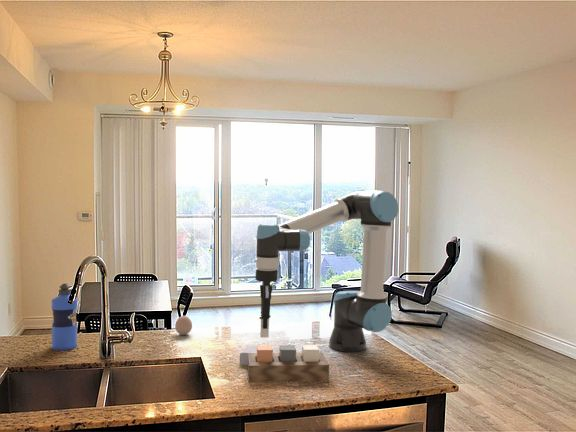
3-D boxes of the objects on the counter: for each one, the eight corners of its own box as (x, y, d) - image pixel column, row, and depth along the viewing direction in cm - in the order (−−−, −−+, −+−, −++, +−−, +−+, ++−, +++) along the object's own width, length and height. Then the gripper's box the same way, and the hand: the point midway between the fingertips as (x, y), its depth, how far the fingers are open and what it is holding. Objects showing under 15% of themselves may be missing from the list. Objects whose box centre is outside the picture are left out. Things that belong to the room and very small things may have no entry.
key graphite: (293, 361, 182) (294, 345, 182) (295, 367, 177) (296, 349, 177) (279, 362, 182) (279, 345, 182) (280, 367, 177) (281, 349, 176)
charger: (272, 354, 202) (264, 367, 187) (249, 352, 203) (239, 365, 189) (272, 342, 202) (264, 354, 187) (249, 340, 203) (239, 352, 188)
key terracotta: (271, 362, 182) (271, 345, 181) (272, 367, 176) (272, 349, 176) (256, 362, 181) (256, 345, 181) (257, 367, 176) (257, 350, 176)
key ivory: (316, 361, 183) (316, 345, 183) (318, 366, 178) (319, 349, 178) (301, 361, 183) (302, 345, 182) (303, 366, 178) (304, 349, 177)
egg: (184, 338, 219) (184, 318, 219) (171, 335, 223) (171, 316, 222) (195, 334, 225) (195, 315, 225) (182, 331, 229) (183, 313, 228)
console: (322, 367, 188) (322, 352, 187) (328, 380, 175) (329, 364, 175) (247, 368, 185) (247, 353, 184) (248, 381, 172) (249, 365, 172)
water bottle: (80, 343, 208) (81, 282, 207) (71, 350, 199) (72, 286, 197) (57, 343, 208) (57, 281, 206) (47, 350, 198) (47, 285, 197)
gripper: (254, 266, 183) (252, 331, 184) (256, 271, 170) (254, 342, 171) (276, 266, 184) (273, 331, 185) (279, 272, 171) (276, 342, 172)
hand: (264, 336), depth 178 cm, fingers closed
